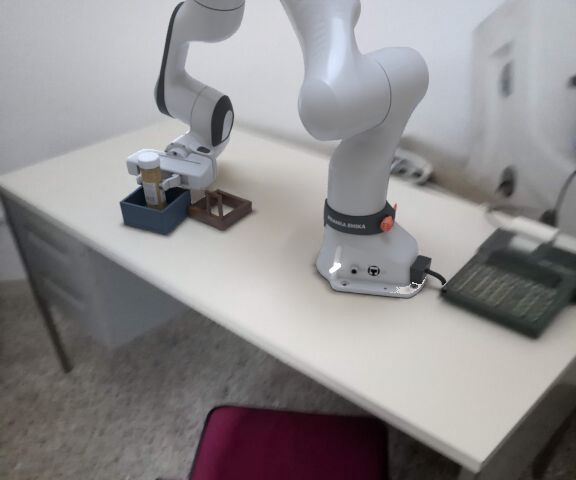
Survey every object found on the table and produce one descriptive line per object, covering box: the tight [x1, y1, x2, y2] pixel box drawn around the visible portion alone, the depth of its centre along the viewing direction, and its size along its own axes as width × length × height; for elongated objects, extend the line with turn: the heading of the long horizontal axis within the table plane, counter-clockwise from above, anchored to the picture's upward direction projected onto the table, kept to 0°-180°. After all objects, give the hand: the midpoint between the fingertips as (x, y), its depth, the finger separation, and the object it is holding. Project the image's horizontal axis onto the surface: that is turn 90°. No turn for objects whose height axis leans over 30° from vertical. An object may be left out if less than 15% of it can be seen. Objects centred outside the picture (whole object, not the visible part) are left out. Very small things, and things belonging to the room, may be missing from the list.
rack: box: [187, 188, 253, 231], centre depth 133 cm, size 10×10×8 cm
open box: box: [118, 185, 193, 236], centre depth 133 cm, size 11×11×6 cm
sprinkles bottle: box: [137, 152, 167, 211], centre depth 130 cm, size 5×5×13 cm
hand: (150, 184), depth 129 cm, fingers closed on sprinkles bottle, 4 cm apart
